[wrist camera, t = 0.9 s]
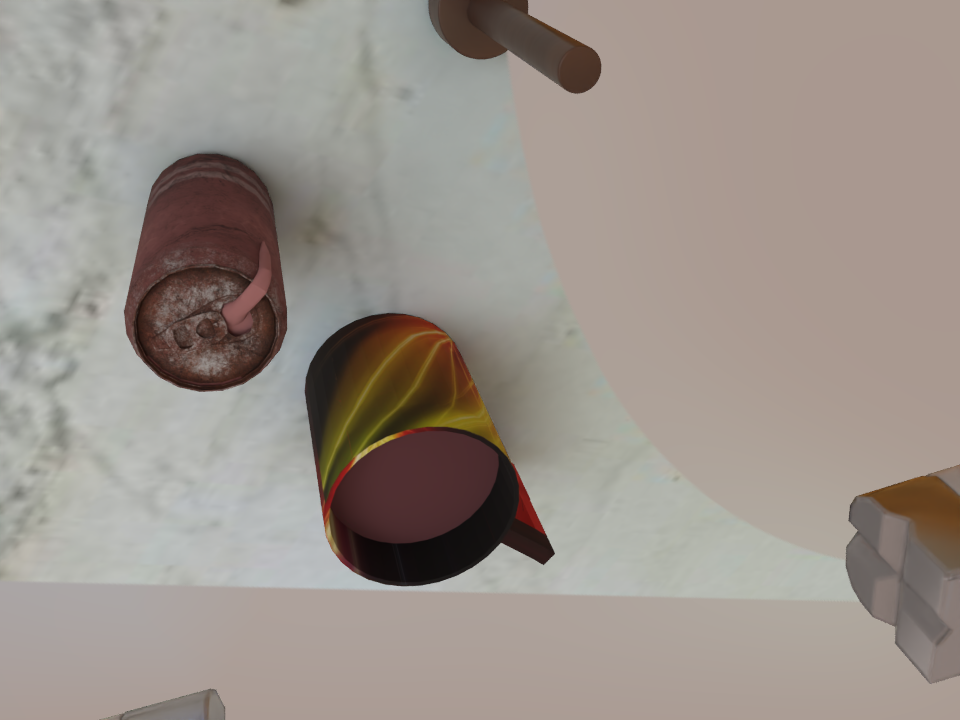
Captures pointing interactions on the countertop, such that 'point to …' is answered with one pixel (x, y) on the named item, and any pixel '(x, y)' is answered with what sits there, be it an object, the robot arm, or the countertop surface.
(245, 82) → the countertop surface
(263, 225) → the can
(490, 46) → the disc-capped wooden dowel
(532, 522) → the mug
